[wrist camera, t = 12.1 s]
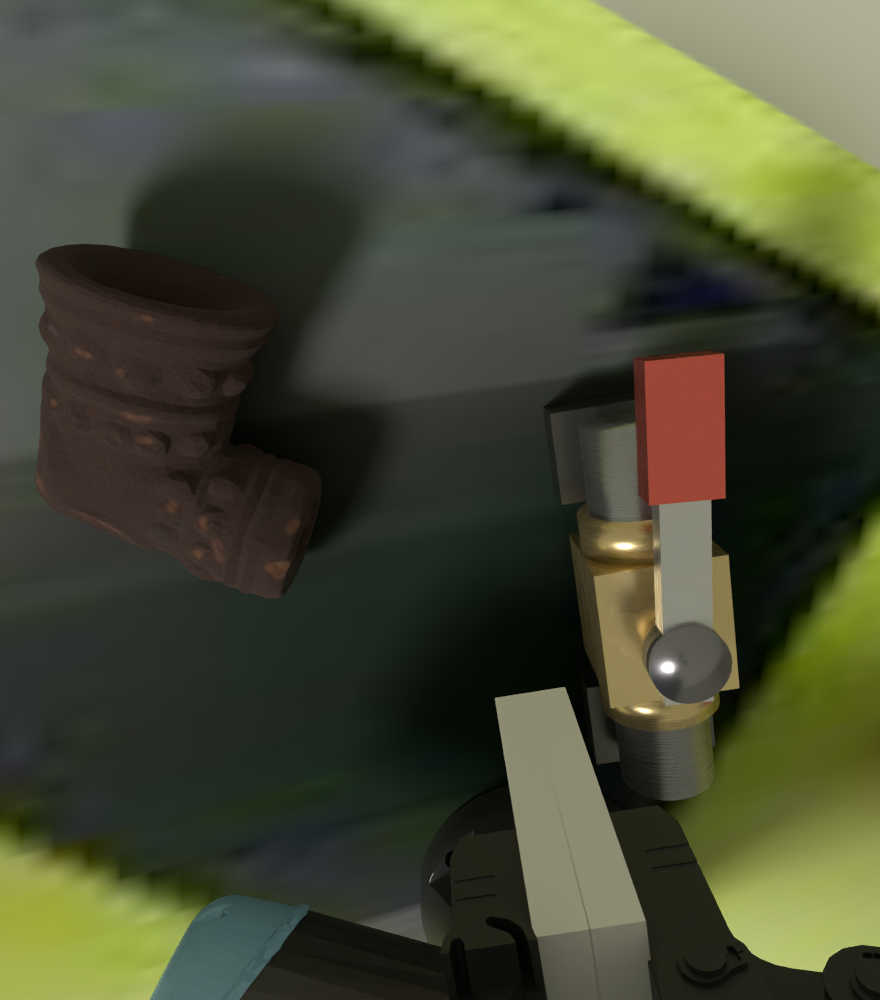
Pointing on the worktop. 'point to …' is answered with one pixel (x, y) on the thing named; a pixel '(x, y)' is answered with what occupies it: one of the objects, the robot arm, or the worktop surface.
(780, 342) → the worktop surface
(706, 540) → the lever
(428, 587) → the worktop surface
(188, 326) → the pipe
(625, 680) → the valve pipe
